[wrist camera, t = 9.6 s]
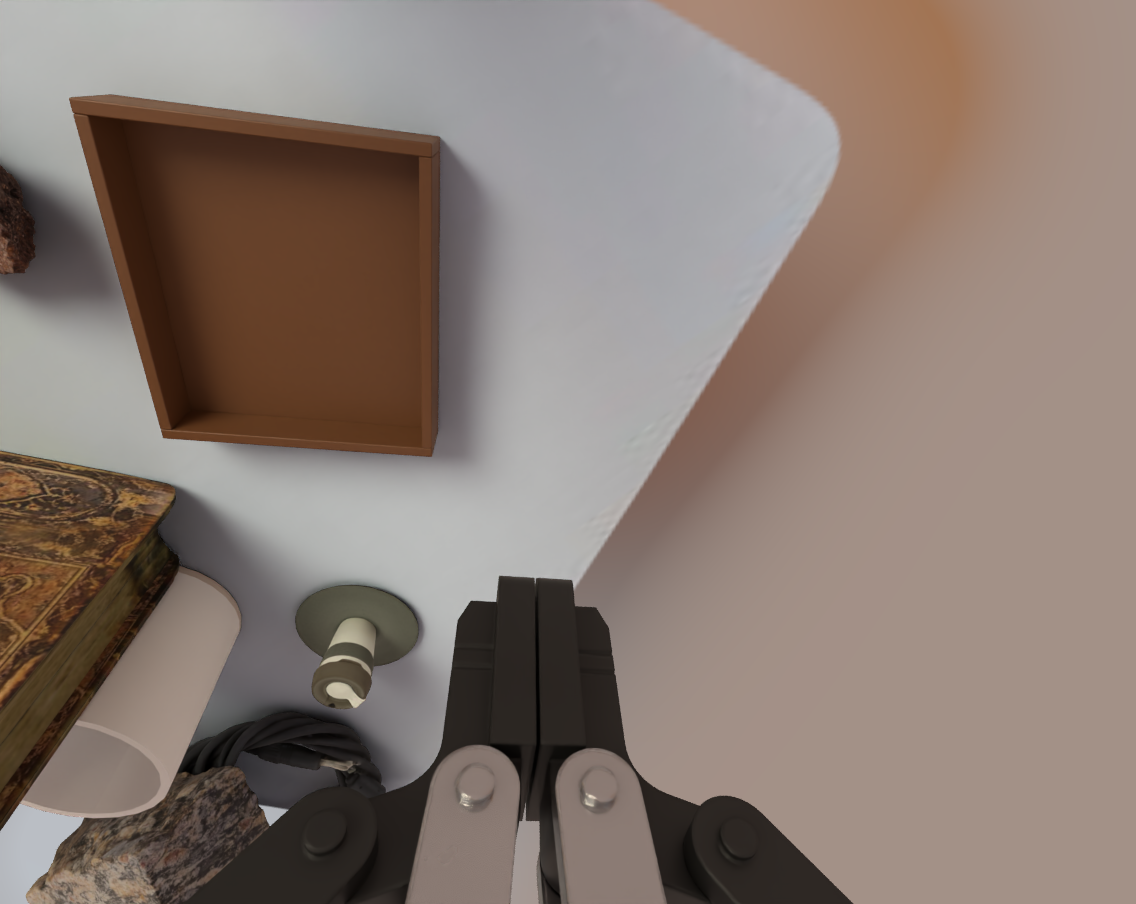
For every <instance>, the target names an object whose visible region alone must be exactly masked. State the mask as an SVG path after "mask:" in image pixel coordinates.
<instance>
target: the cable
mask: <svg viewBox="0 0 1136 904" xmlns="http://www.w3.org/2000/svg"><path fill="white" fill-rule="evenodd" d="M292 743H298V744H302V745H304V746H307V747H309V748H312V749H314V750H316V751H313V750H311V749H308V748H306V747H304V746H301V745H297V744H292ZM241 751H245V752H247V753H251V754H254V755H257V756H258V757H259V758H261V759H264V760H266V761H269V762H273V763H276V764H277V763H283V764H286V765H290V766H294V767H300V768H306V769H312V770H318V769H319V768H320V767H321V766H328V767H332V768H335V771H336V774H337V777H338V781H339V786H340V787H347V788H351V789H354V790H356V791H358V792H360V793H361V794H363V795H364V796H365V797H366V798H367V799H368V798H371V797H374V796H377V795H380V794H383V793H385V792H386V789H385V787H384V786H382V785H381V775H380V772H379V770H378V769H377V768H376V766H375V765H373V764H372V763H371V757H370V753H369V751H368V750H367V748H366V747H364V746H363V745H361V741H360V738H359V736H358V735H357V733H356V732H355V731H354V730H352V729H351V728H349V727H347V726H344V725H340V724H334V723H325V722H322V721H320V720H316V719H312V718H310V717H308V716H306V715H303V714H300V713H294V712H283V713H278V714H273V715H270V716H267V717H265V718H263V719H261V720H259V721H253V722H246V723H242V724H238V725H236V726H233V727H231V728H228V729H227V730H225V731H223V732H221V733H220V734H219V735H217V736H216V737H211V738H207V739H204V740H201V741H199V742H197V743H195V744H194V745H192V746H191V747H189V748H188V749H187V751H186V753H185V755H184V757H183V760H182V762H181V764H180V766H179V769H178V771H177V773H183V772H187V773H190V774H192V775H198V774H201V773H202V772H207V771H208V770H209V769H211V768H219V767H225V766H233V767H234V765H235V763H236V759H237V757H238V755H239V753H240V752H241ZM177 773H176V774H177ZM269 827H270V826H269Z"/></svg>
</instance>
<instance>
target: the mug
mask: <svg viewBox="0 0 1136 904" xmlns="http://www.w3.org/2000/svg"><path fill="white" fill-rule="evenodd" d="M240 629H241V613H240V611H239V608H238V606H237V603H236V601H235V600H234V599H233V597H232V596H231V595H230V594H229V592H228V591H227V590H226V589H224V588H223V587H222V586H221V585H219V584H218V583H217V582H216V581H214V580H212V579H211V578H209V577H207V576H205V575H203V574H201V573H199V572H196V571H193V570H190V569H187V568H184V567H181V566H179V570H178V573H177V575H176V576H175V578H174V581H173V583H172V584H171V586H170V587H169V589H168V590H167V592H166V593H165V595H164V596H163V598H162V599H161V601H160V602H159V603H158V605H157V606H156V608H155V609H154V611H153V612H152V614H151V615H150V616H149V618H148V619H147V621H146V622H145V624H144V625H143V627H142V628H141V629H140V631H139V632H138V634H137V635H136V637H135V638H134V639H133V641H132V642H131V644H130V645H129V647H128V648H127V650H126V651H125V652H124V654H123V655H122V657H121V658H120V660H119V661H118V663H117V664H116V665H115V667H114V668H113V670H112V671H111V673H110V674H109V675H108V677H107V678H106V680H105V681H104V683H103V684H102V686H101V687H100V688H99V690H98V691H97V693H96V694H95V696H94V697H93V698H92V700H91V701H90V703H89V704H88V706H87V707H86V709H85V710H84V711H83V713H82V714H81V716H80V717H79V719H78V720H77V722H76V723H75V724H74V726H73V727H72V729H71V730H70V732H69V733H68V734H67V736H66V737H65V739H64V740H63V742H62V743H61V745H60V746H59V747H58V749H57V750H56V752H55V753H54V755H53V756H52V758H51V759H50V760H49V762H48V763H47V765H46V766H45V768H44V769H43V770H42V772H41V773H40V775H39V776H38V778H37V779H36V781H35V782H34V783H33V785H32V786H31V788H30V789H29V791H28V792H27V793H26V795H25V796H24V798H23V799H22V801H21V802H20V804H23V805H26V806H29V807H33V808H36V809H39V810H42V811H45V812H51V813H56V814H61V815H66V816H73V817H85V818H112V817H121V816H127V815H132V814H137V813H140V812H142V811H145V810H147V809H150V808H152V807H154V806H155V805H157V804H158V803H159V802H160V801H161V800H163V799H164V798H165V796H166V795H167V793H168V791H169V788H170V786H171V784H172V782H173V780H174V778H175V775H176V773H177V771H178V769H179V766H180V764H181V762H182V760H183V757H184V755H185V753H186V751H187V748H188V746H189V744H190V742H191V739H192V737H193V735H194V733H195V730H196V728H197V726H198V724H199V721H200V719H201V717H202V714H203V712H204V710H205V708H206V705H207V703H208V701H209V699H210V696H211V694H212V692H213V690H214V687H215V685H216V683H217V681H218V678H219V676H220V674H221V672H222V669H223V667H224V665H225V663H226V660H227V658H228V656H229V654H230V651H231V649H232V647H233V645H234V642H235V640H236V638H237V636H238V633H239V631H240Z"/></svg>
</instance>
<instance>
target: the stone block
mask: <svg viewBox="0 0 1136 904" xmlns="http://www.w3.org/2000/svg"><path fill="white" fill-rule="evenodd" d="M245 778H246V776H245V775H244V773H243V772H242V770H241V769H240V768H239V767H233V766H225V767H219V768H211V769H209V770H208V771H207V772H202V773H201V774H198V775H192V774H190V773H187V772H183V773H177V774H176V775H175V778H174V780H173V782H172V784H171V786H170V788H169V791H168V793H167V795H166V796H165V798H164V799H163V800H161V801H160V802H159V803H158V804H157V805H155V806H154V807H152V808H150V809H147V810H145V811H142V812H140V813H137V814H132V815H127V816H121V817H112V818H84V820H83V822H82V824H81V826H80V827H79V828H78V829H77V830H76V831H75V832H73V833H72V834H71V835H70V836H69V837H68V838H67V839H66V840H64V841H63V842H62V843H61V844H60V846H59V847H58V849H57V851H56V855H55V857H54V860H53V863H52V864H51V867H50V868H49V871H48V872H47V873H46V874H44V875H43V876H41V877H40V878H39V879H38V880H37V881H36V882H35V883H34V884H33V886H32V887H31V888H30V890H29V891H28V892H27V894H26V898H27V901H28V903H30V904H184V903H185V902H186V901H187V900H188V899H189V898H190V897H192V896H193V895H194V894H195V893H196V892H197V891H198V890H199V889H200V888H202V887H203V886H204V885H205V884H206V883H207V882H208V881H209V880H211V879H212V878H213V877H214V876H215V875H216V874H217V873H218V872H220V871H221V870H222V869H223V868H224V867H225V866H226V865H227V864H229V863H230V862H231V861H232V860H233V859H234V858H235V857H236V856H238V855H239V854H240V853H241V852H242V851H243V850H244V849H245V848H246V847H248V846H249V845H250V844H251V843H252V842H253V841H254V840H255V839H257V838H258V837H259V836H260V835H261V834H262V833H263V832H264V831H266V830H267V829H268V828H269V824H268V822H267V820H266V817H265V814H264V811H263V809H261V808H260V807H259V805H258V798H257V796H256V794H255V793H254V792H252V791H251V790H250V788H249V787H248V785H247V783H246V780H245Z"/></svg>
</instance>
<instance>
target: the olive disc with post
mask: <svg viewBox="0 0 1136 904" xmlns="http://www.w3.org/2000/svg"><path fill="white" fill-rule="evenodd" d="M295 623H296V629H297V632H298V634H299V636H300V638H301V639H302V641H303V642H304V643H305V644H306V645H307V646H308V647H309V648H310V649H311V650H312V651H314V652H315V653H317V654H318V655H320V656H322V657H323V659H322V661H321V663H320V666H319V668H318V669H317V670H316V671H315V673H314V676H313V681H312V694H313V696H314V698H315V699H316V700H317V701H318V702H320V703H321V704H323V705H325V706H327V707H331V708H335V709H349V708H353V707H354V708H357V707H358V706H359V705H360V704H361V703H362V702H364V701H365V700H366V696H367V694H368V692H369V690H370V687H371V684H372V680H371V676H372V671H373V666H380V665H385V664H389V663H392V662H394V661H397V660H399V659H400V658H402V657H403V656H405V655H406V654H407V653H408V652H409V651H410V650H411V649H412V648H413V646H414V645H415V643H416V641H417V638H418V623H417V620H416V617H415V615H414V614H413V612H412V611H411V610H410V608H409V607H408V606H407V605H406V604H405V603H403V602H402V601H401V600H399V599H398V598H396V597H395V596H393V595H391V594H389V593H387V592H384V591H382V590H379V589H375V588H372V587H366V586H357V585H344V586H335V587H330V588H326V589H323V590H321V591H319V592H317V593H315V594H313V595H311V596H310V597H308V598H307V599H306V600H305V601H304V602H303V603H302V604H301V605H300V607H299V609H298V611H297V614H296V618H295Z"/></svg>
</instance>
